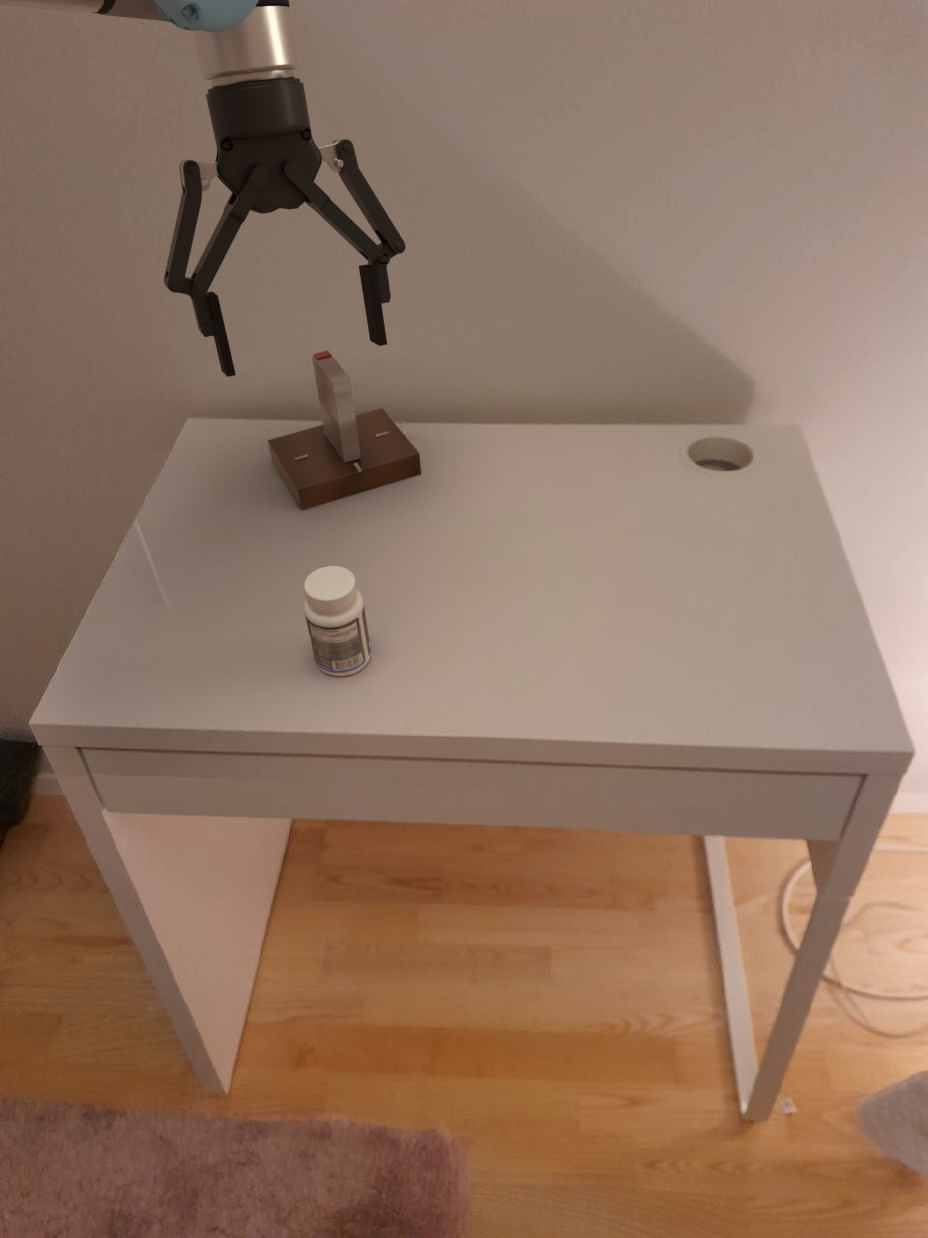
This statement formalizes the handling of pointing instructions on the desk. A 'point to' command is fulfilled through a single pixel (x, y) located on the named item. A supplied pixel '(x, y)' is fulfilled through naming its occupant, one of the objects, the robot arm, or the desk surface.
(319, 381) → the red-topped gray slab
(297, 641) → the desk surface
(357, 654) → the pill bottle
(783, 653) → the desk surface
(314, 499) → the panel
